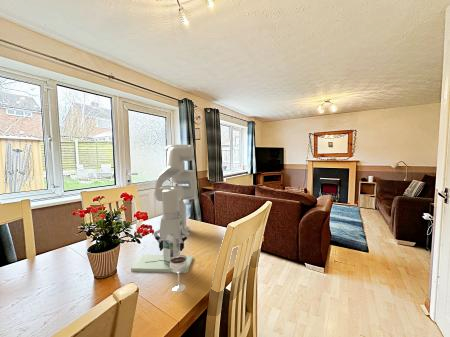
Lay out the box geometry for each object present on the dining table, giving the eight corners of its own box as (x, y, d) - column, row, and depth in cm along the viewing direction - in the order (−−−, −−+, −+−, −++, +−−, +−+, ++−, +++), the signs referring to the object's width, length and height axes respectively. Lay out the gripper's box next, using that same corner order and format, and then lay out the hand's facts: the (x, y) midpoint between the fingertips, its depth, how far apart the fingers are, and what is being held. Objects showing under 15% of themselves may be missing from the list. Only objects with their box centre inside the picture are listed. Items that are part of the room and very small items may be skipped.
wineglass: (174, 296, 73) (173, 265, 72) (167, 286, 78) (166, 258, 77) (190, 289, 77) (190, 260, 76) (183, 280, 82) (182, 252, 81)
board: (143, 257, 101) (143, 254, 101) (193, 258, 99) (193, 255, 99) (131, 271, 89) (131, 267, 89) (187, 272, 88) (187, 269, 87)
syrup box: (162, 262, 93) (162, 233, 92) (171, 257, 98) (170, 229, 97) (172, 266, 90) (171, 235, 89) (180, 259, 95) (179, 231, 94)
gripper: (190, 212, 95) (191, 246, 97) (156, 212, 96) (157, 245, 97) (186, 217, 88) (187, 254, 89) (149, 217, 89) (150, 253, 90)
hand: (171, 249), depth 93 cm, fingers open, 9 cm apart
